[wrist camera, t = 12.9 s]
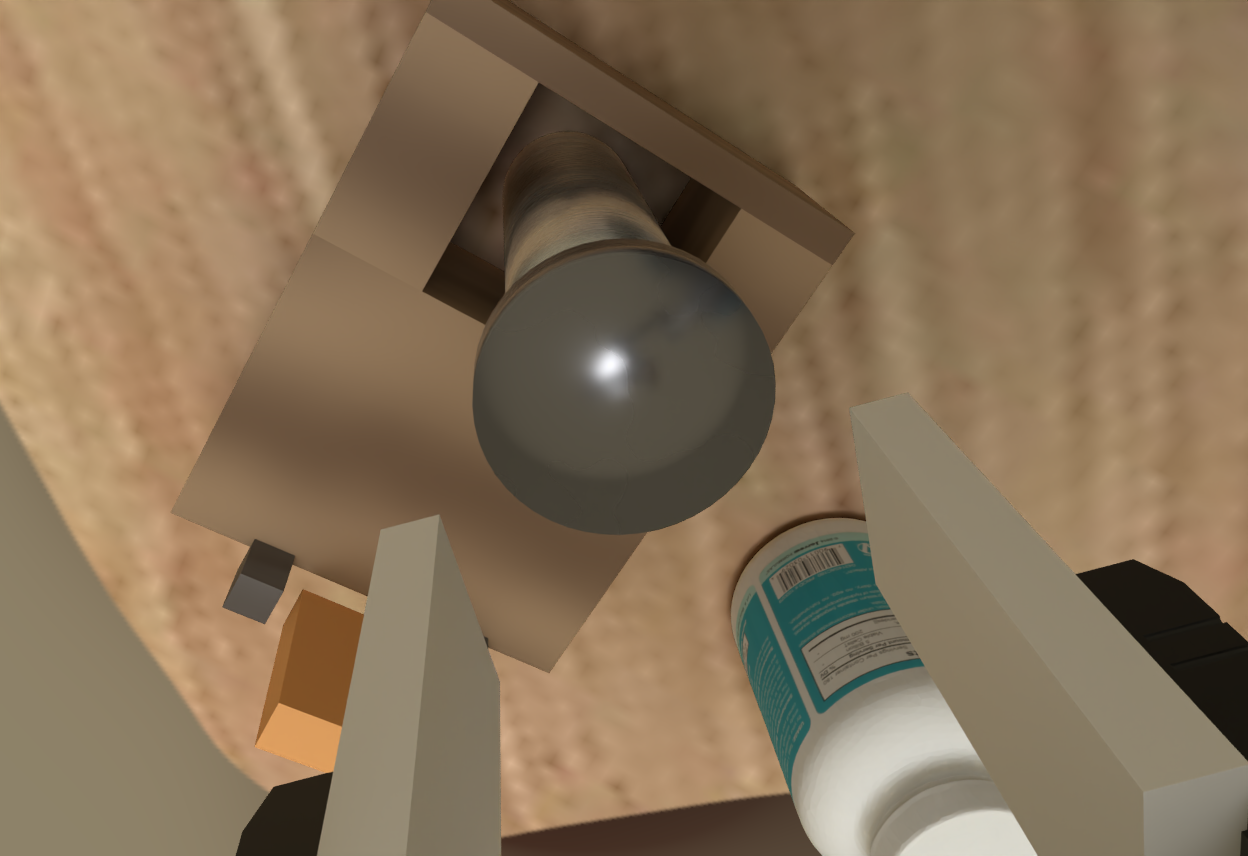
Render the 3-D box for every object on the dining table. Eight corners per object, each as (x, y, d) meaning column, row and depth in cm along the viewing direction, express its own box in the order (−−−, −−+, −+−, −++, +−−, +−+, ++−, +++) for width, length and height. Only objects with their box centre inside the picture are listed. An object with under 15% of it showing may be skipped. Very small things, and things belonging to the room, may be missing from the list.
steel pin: (536, 76, 31) (572, 194, 16) (682, 167, 32) (834, 348, 18) (452, 228, 32) (417, 457, 18) (596, 307, 34) (671, 577, 19)
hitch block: (455, -34, 29) (442, -27, 22) (795, 185, 33) (877, 251, 26) (210, 444, 34) (137, 573, 27) (529, 587, 38) (536, 733, 31)
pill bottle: (843, 698, 42) (986, 1007, 30) (689, 631, 40) (775, 935, 27) (956, 555, 40) (1161, 826, 27) (799, 475, 37) (946, 732, 25)
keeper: (433, 643, 30) (413, 677, 30) (302, 589, 29) (283, 625, 29) (440, 764, 24) (416, 805, 24) (278, 702, 23) (254, 746, 23)
